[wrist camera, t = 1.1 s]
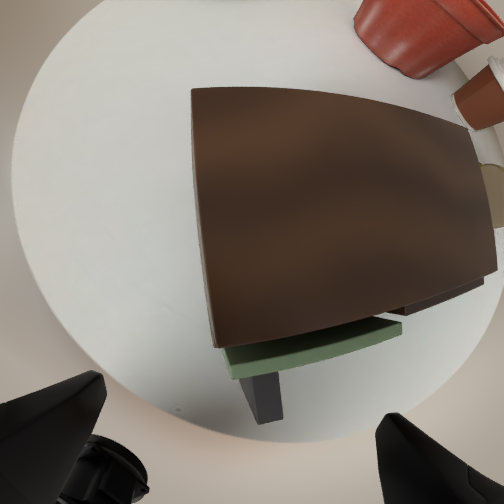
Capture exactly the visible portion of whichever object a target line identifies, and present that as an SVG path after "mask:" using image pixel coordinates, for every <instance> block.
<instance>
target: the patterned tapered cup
mask: <svg viewBox="0 0 504 504" xmlns="http://www.w3.org/2000/svg"><path fill="white" fill-rule="evenodd" d="M479 165H480V169H481V172H482V176H483V180H484V184H485V188H486V192H487V197H488V201H489V206H490V212H491V217H492V223H493V228H501V227H504V168H503V167H501V166H499V165H495V164H484V165H482V164H481V163H479Z"/></svg>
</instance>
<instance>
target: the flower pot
mask: <svg viewBox="0 0 504 504" xmlns="http://www.w3.org/2000/svg"><path fill="white" fill-rule="evenodd" d="M353 20H354V29H355V31H356V33H357V34H358V36H359V37H360V39H361V40H362V41H363V42H364V43H365V44H366V46H367V47H368V48H369V49H370V50H371V51H372V52H373V53H375V54H376V55H377V56H378V57H379V58H380V59H381V60H383V61H384V62H385V63H387V64H388V65H389V66H394V67H397V68H399V69H400V70H401V71H402V73H403V74H404V75H406V76H409V77H411V78H416V79H421V78H424V77H426V76H428V75H429V74H431V73H432V72H434V71H436V70H437V69H439V68H441V67H442V66H444V65H446V64H448V63H449V62H451V61H453V60H454V59H456V58H457V57H460V56H461V55H463V54H465V53H466V52H468V51H470V50H472V49H474V48H476V47H478V46H480V45H481V44H483V43H485V44H489V43H491V42H493V41H495V40H497V39H499V38H501V37H503V36H504V23H503V21H502V20H501V19H500V18H499V16H497V14H496V13H495V12H494V11H493V9H492V8H491V7H490V6H489V5H488V4H487V3H486V2H485V1H484V0H363V2H362V4H361V6H360V8H359V10H358V11H357V13H356V15H355V17H354V19H353Z"/></svg>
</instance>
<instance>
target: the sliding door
mask: <svg viewBox="0 0 504 504" xmlns="http://www.w3.org/2000/svg"><path fill="white" fill-rule="evenodd" d="M401 334H402V323H401V322H398V321H393V320H388V319H384V318H379V317H374V316H371V317H367V318H363V319H360V320H356V321H352V322H349V323H345V324H341V325H337V326H333V327H329V328H325V329H320V330H316V331H312V332H307V333H303V334H298V335H293V336H288V337H283V338H278V339H273V340H268V341H262V342H257V343H251V344H245V345H239V346H233V347H226V348H221V349H222V352H223V355H224V358H225V361H226V364H227V368H228V371H229V374H230V377H231V379H233V380H234V379H239V382H240V384H241V387H242V389H243V391H244V394H245V396H246V399H247V401H248V403H249V406H250V408H251V410H252V413H253V415H254V417H255V420H256V422H257V424H258V425H260V424H264V423H269V422H273V421H278V420H282V419H283V410H282V401H281V393H280V384H279V375H278V371H281V370H286V369H290V368H294V367H298V366H303V365H307V364H311V363H314V362H318V361H322V360H326V359H329V358H333V357H336V356H340V355H343V354H346V353H350V352H353V351H356V350H359V349H362V348H365V347H368V346H371V345H374V344H377V343H380V342H383V341H386V340H388V339H391V338H394V337H396V336H399V335H401Z"/></svg>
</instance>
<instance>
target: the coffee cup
mask: <svg viewBox="0 0 504 504" xmlns="http://www.w3.org/2000/svg"><path fill="white" fill-rule="evenodd" d="M488 63H489V64H488V65H487V66H486V67H485V68H484V69H482V70H481V71H480V72H479V73H478V74H477V75H475V76H474V77H473V78H472V79H471V80H469V81H468V82H467V83H466V84H465V85H463V86H462V87H461V88H460V89H459V90H458V91H456V92H455V93H453V94H452V96H451V101H452V104H453V107H454V109H455V111H456V113H457V115H458V116H459V118H460V119H461V121H462V122H463V124H464V125H465V126H466V127H467V128H468V129H469V130H471V131H472V132H477V131H479V130H481V129H484V128H487V127H489V126H492V125H495V124H498V123H501V122H503V121H504V58H502V59H501V60H499V59H498V58H495V57H493V56H491V57H489V58H488Z"/></svg>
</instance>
